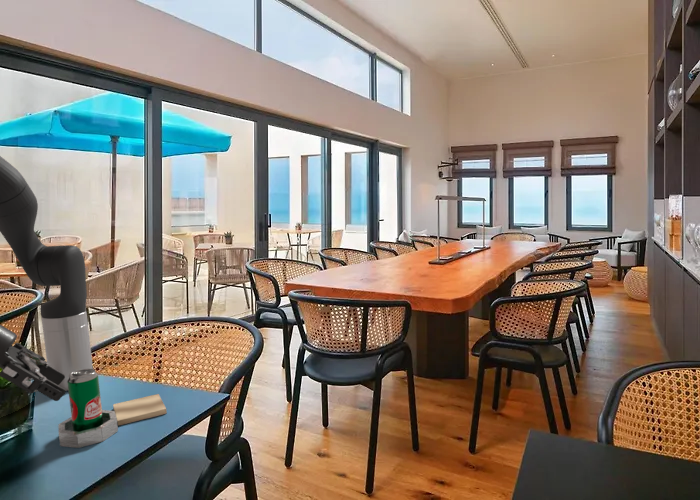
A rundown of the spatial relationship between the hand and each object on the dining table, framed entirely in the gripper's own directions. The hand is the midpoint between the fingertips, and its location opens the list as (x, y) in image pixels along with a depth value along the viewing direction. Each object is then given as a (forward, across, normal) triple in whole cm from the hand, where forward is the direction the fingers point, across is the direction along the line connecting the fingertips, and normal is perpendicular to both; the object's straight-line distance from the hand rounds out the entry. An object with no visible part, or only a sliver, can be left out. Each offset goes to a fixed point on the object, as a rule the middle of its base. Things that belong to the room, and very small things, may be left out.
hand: (61, 388), depth 90 cm
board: (+16, +5, -2) cm, 17 cm away
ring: (+9, 0, +4) cm, 10 cm away
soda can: (+10, 0, +5) cm, 11 cm away
